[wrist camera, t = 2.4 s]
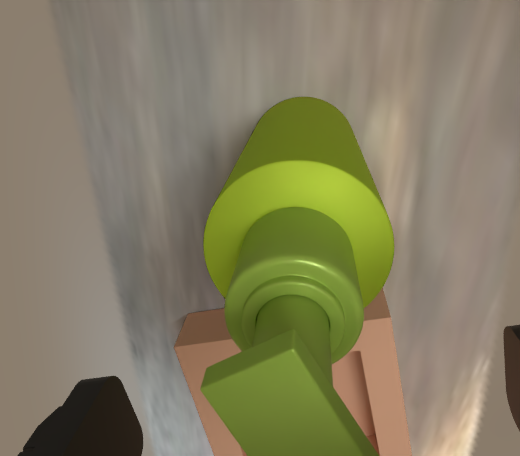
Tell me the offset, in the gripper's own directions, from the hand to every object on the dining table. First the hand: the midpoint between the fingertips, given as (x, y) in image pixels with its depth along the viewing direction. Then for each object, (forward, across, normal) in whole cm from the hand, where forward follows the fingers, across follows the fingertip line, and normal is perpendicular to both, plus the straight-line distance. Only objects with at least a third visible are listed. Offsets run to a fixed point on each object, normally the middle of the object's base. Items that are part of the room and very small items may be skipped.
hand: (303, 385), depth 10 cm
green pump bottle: (+18, 0, 0) cm, 19 cm away
